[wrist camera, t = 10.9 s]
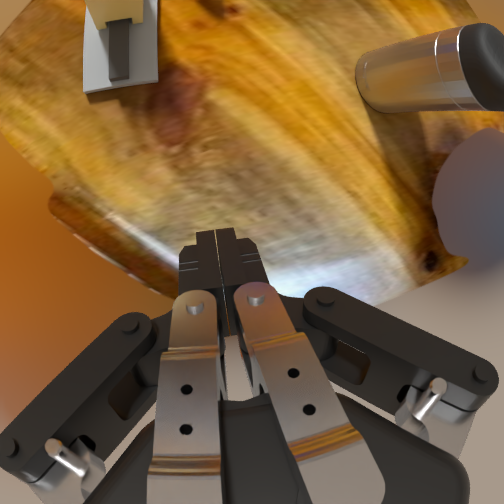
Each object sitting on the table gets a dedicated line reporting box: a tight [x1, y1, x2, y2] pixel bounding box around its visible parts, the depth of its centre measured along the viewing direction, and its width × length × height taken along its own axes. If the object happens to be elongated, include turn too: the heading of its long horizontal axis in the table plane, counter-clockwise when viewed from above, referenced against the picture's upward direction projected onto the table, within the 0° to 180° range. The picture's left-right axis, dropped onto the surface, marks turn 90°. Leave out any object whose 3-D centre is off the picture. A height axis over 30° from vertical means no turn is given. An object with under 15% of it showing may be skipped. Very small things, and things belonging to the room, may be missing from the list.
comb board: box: [83, 0, 158, 94], centre depth 23 cm, size 8×16×5 cm, turn 4°
